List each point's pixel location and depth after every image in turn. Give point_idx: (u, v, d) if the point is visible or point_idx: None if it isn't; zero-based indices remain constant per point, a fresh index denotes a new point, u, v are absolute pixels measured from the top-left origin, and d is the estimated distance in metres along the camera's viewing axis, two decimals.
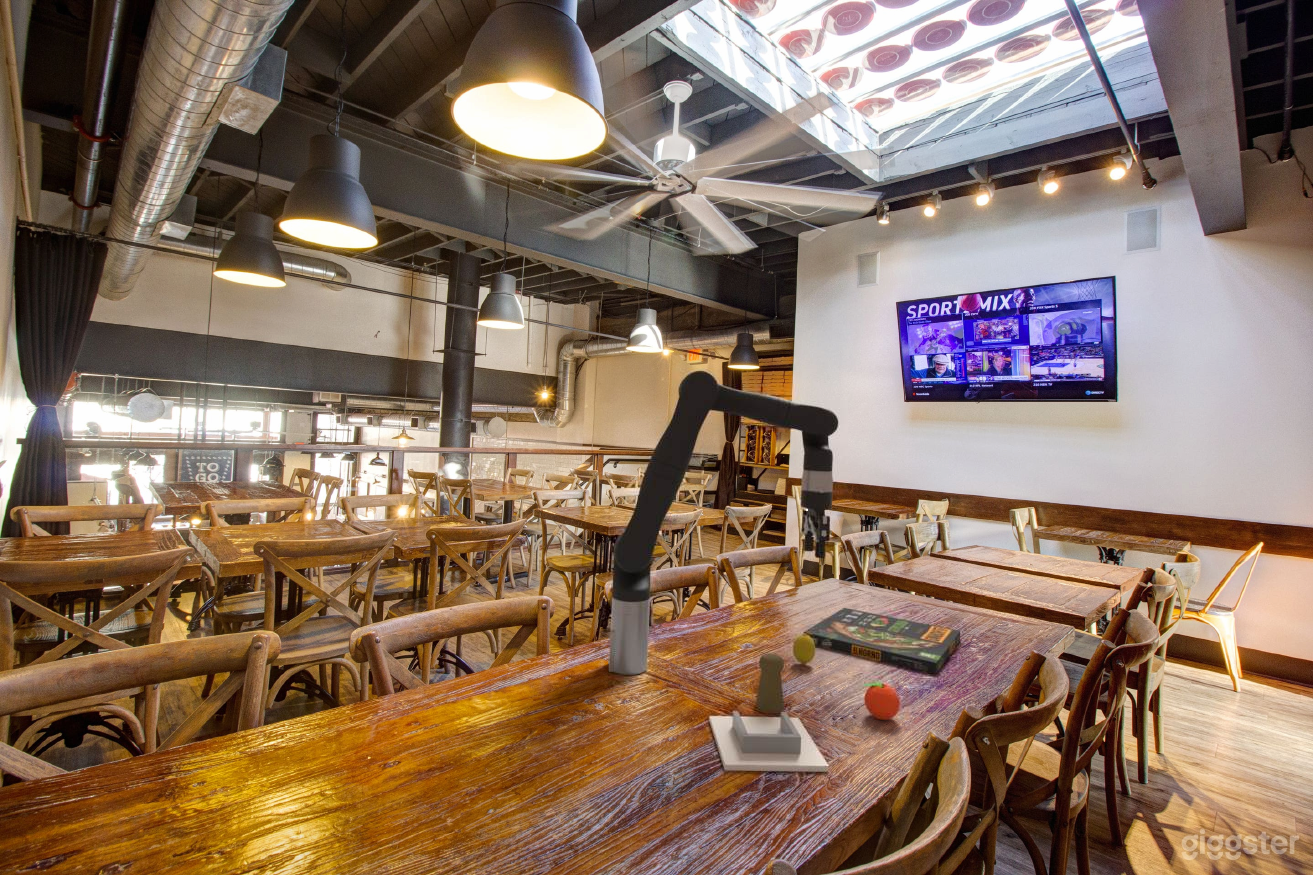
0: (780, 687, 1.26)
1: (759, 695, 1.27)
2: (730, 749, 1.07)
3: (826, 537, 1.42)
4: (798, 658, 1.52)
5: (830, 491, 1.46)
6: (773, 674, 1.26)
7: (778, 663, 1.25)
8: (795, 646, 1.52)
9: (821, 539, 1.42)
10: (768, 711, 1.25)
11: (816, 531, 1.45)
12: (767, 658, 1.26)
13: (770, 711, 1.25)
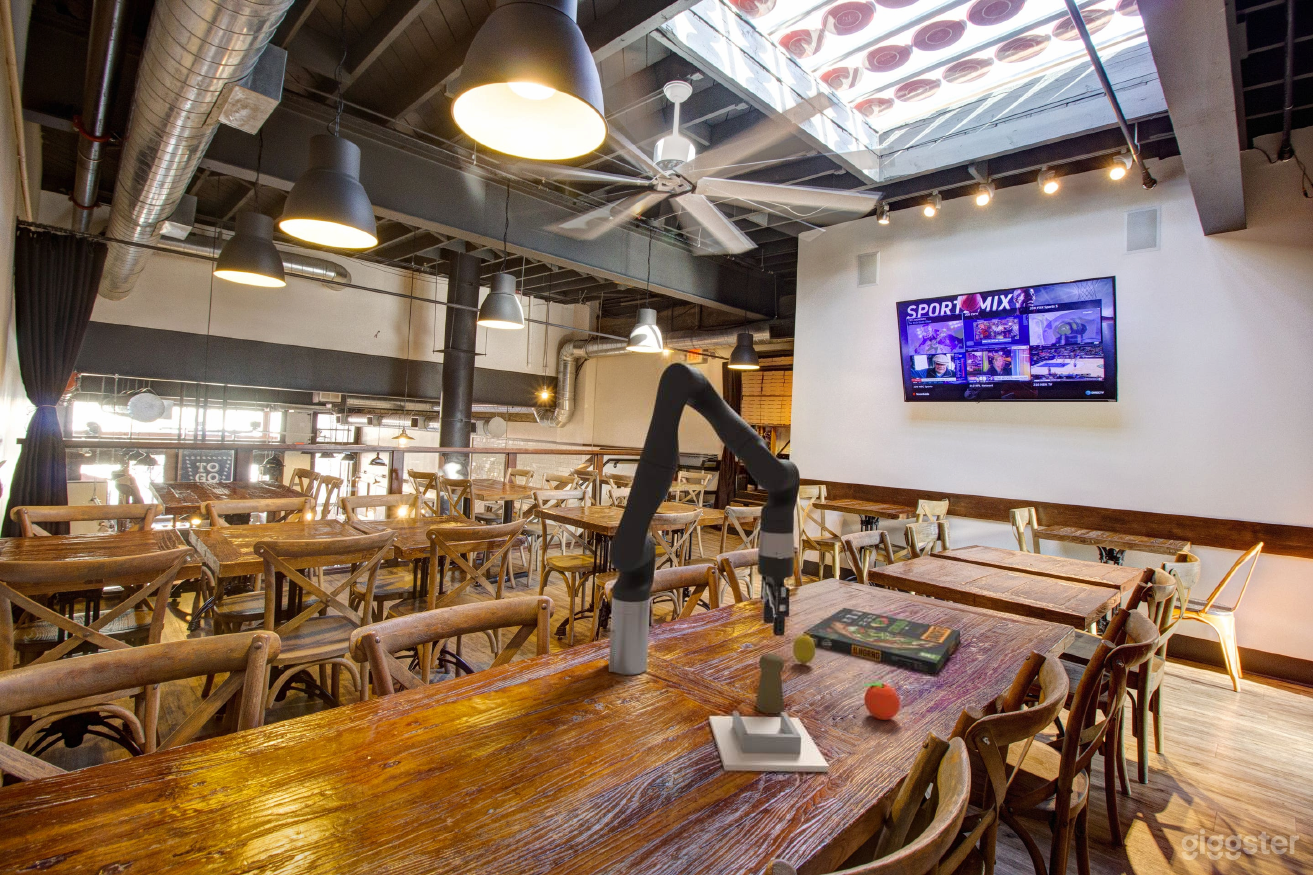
0: (780, 687, 1.26)
1: (759, 695, 1.27)
2: (730, 749, 1.07)
3: (785, 612, 1.21)
4: (798, 658, 1.52)
5: (791, 556, 1.25)
6: (773, 674, 1.26)
7: (778, 663, 1.25)
8: (795, 646, 1.52)
9: (779, 615, 1.21)
10: (768, 711, 1.25)
11: (774, 604, 1.24)
12: (767, 658, 1.26)
13: (770, 711, 1.25)
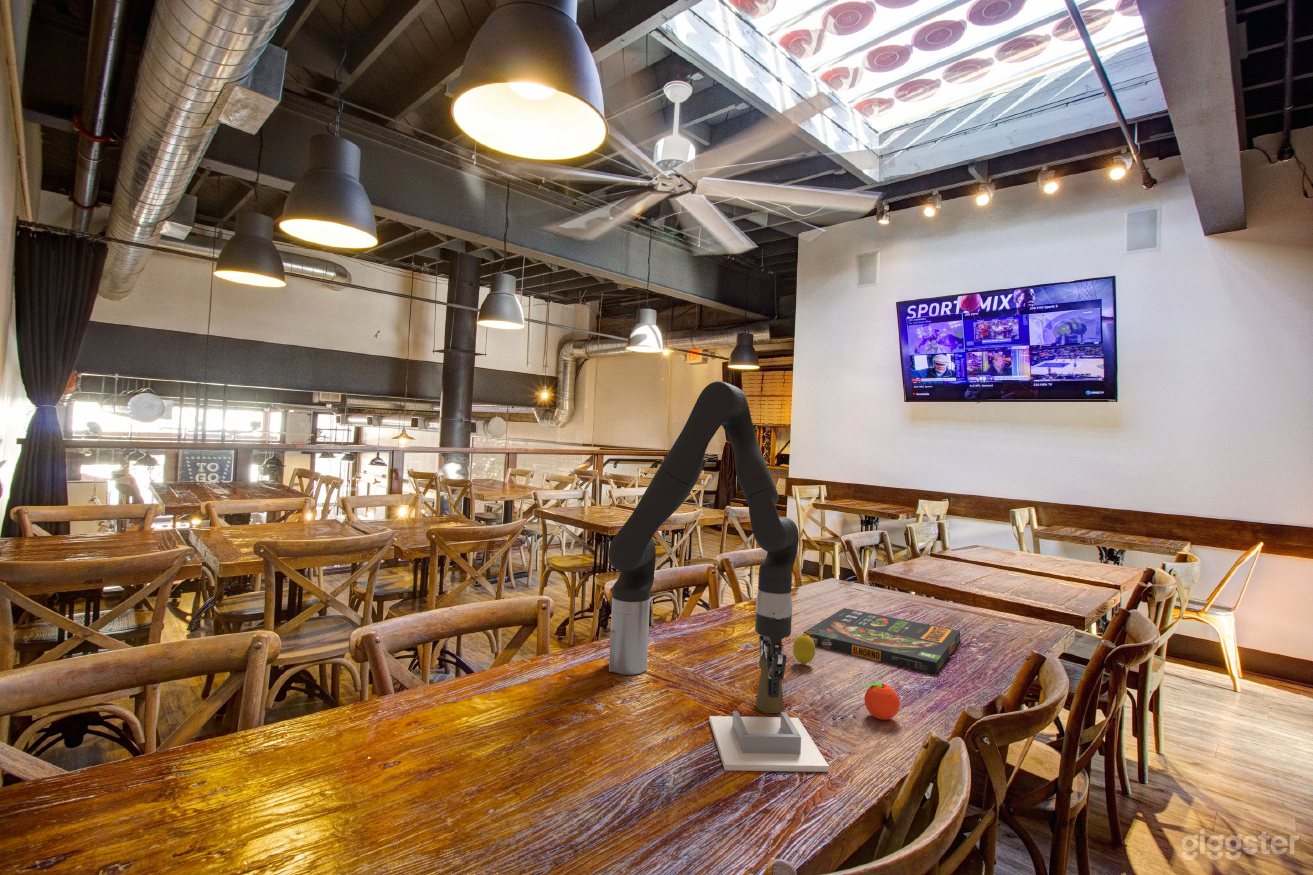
0: (780, 687, 1.26)
1: (759, 695, 1.27)
2: (730, 749, 1.07)
3: (779, 677, 1.23)
4: (798, 658, 1.52)
5: (788, 616, 1.25)
6: None
7: None
8: (795, 646, 1.52)
9: (774, 678, 1.23)
10: (768, 711, 1.25)
11: (770, 666, 1.25)
12: None
13: (770, 711, 1.25)
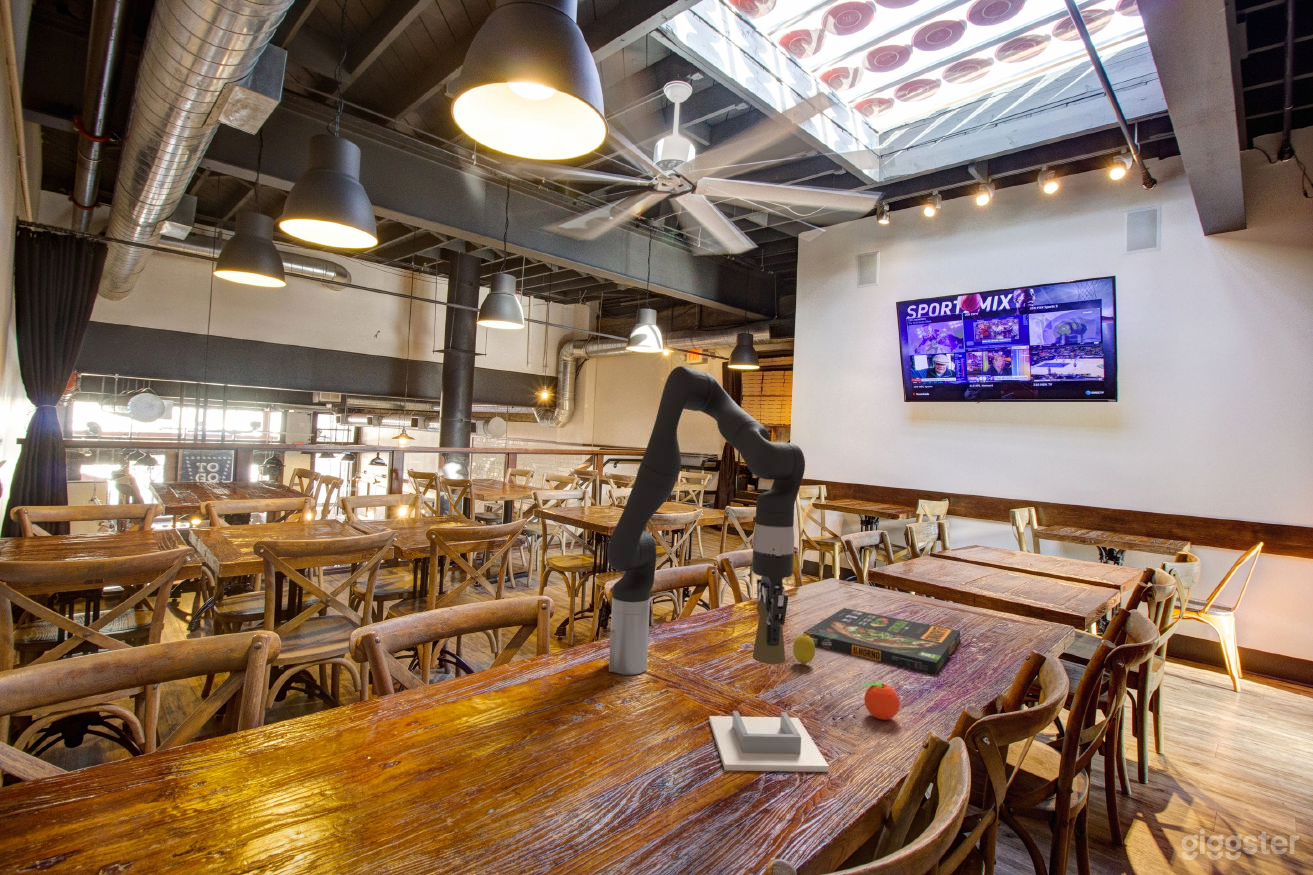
0: (781, 635, 1.10)
1: (757, 644, 1.11)
2: (730, 749, 1.07)
3: (780, 621, 1.07)
4: (798, 658, 1.52)
5: (790, 553, 1.09)
6: None
7: None
8: (795, 646, 1.52)
9: (773, 623, 1.07)
10: (767, 662, 1.09)
11: (769, 610, 1.09)
12: None
13: (769, 662, 1.09)
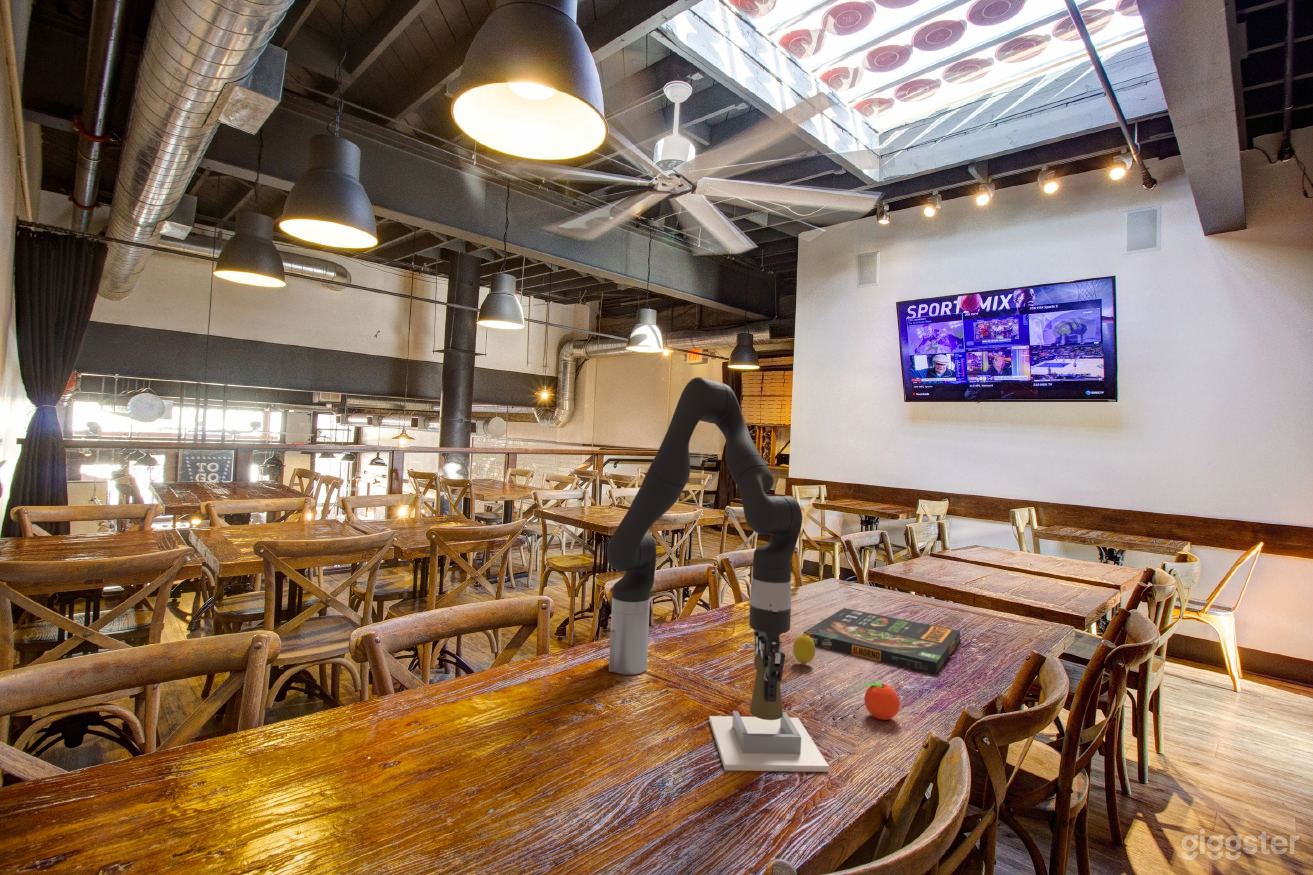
0: (778, 690, 1.10)
1: (754, 699, 1.11)
2: (730, 749, 1.07)
3: (777, 678, 1.06)
4: (798, 658, 1.52)
5: (787, 608, 1.09)
6: None
7: None
8: (795, 646, 1.52)
9: (770, 680, 1.06)
10: (764, 717, 1.09)
11: (766, 666, 1.09)
12: None
13: (767, 717, 1.09)
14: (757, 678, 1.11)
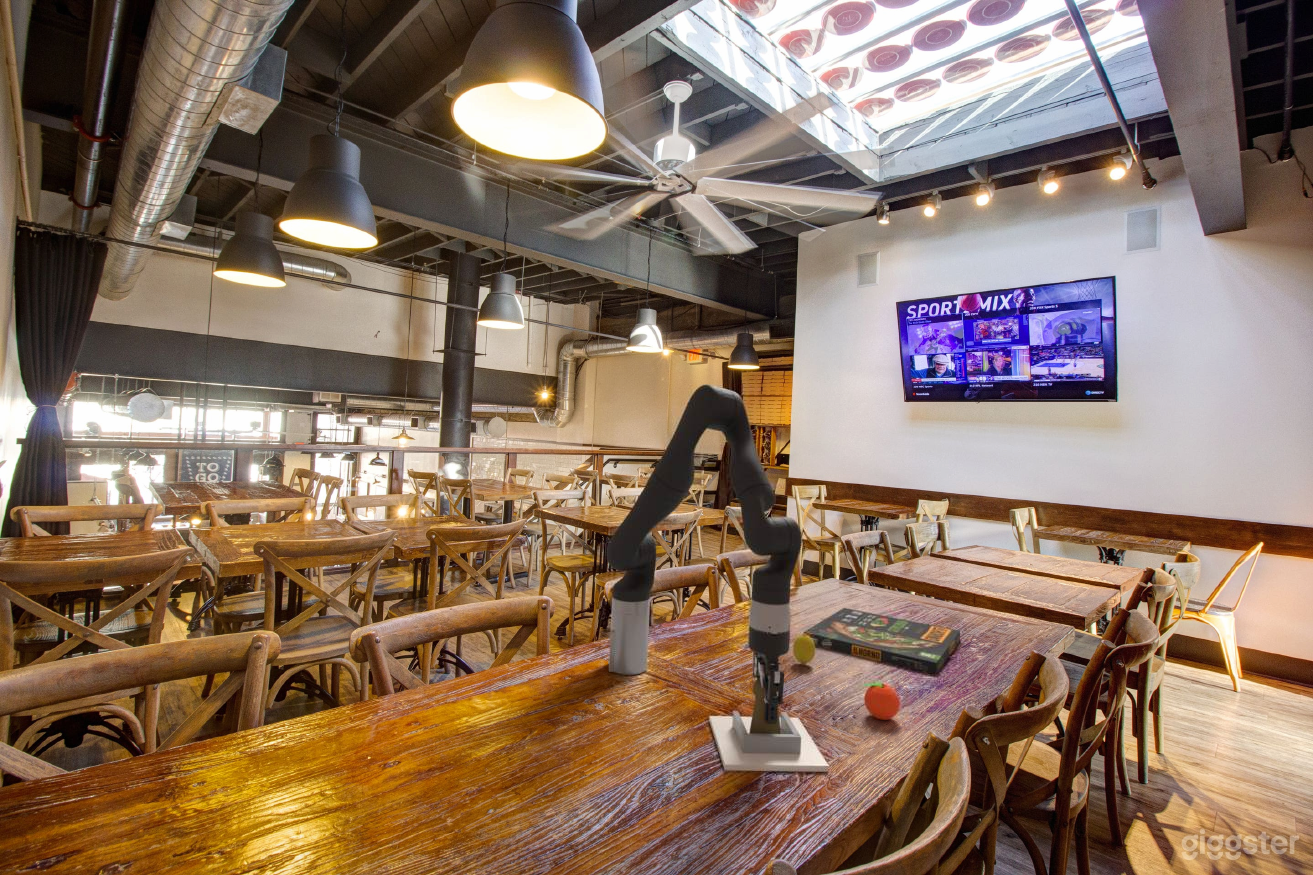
0: (777, 717, 1.10)
1: (753, 726, 1.10)
2: (730, 749, 1.07)
3: (778, 700, 1.05)
4: (798, 658, 1.52)
5: (786, 630, 1.09)
6: None
7: None
8: (795, 646, 1.52)
9: (771, 702, 1.05)
10: None
11: (766, 687, 1.08)
12: None
13: None
14: (756, 705, 1.10)
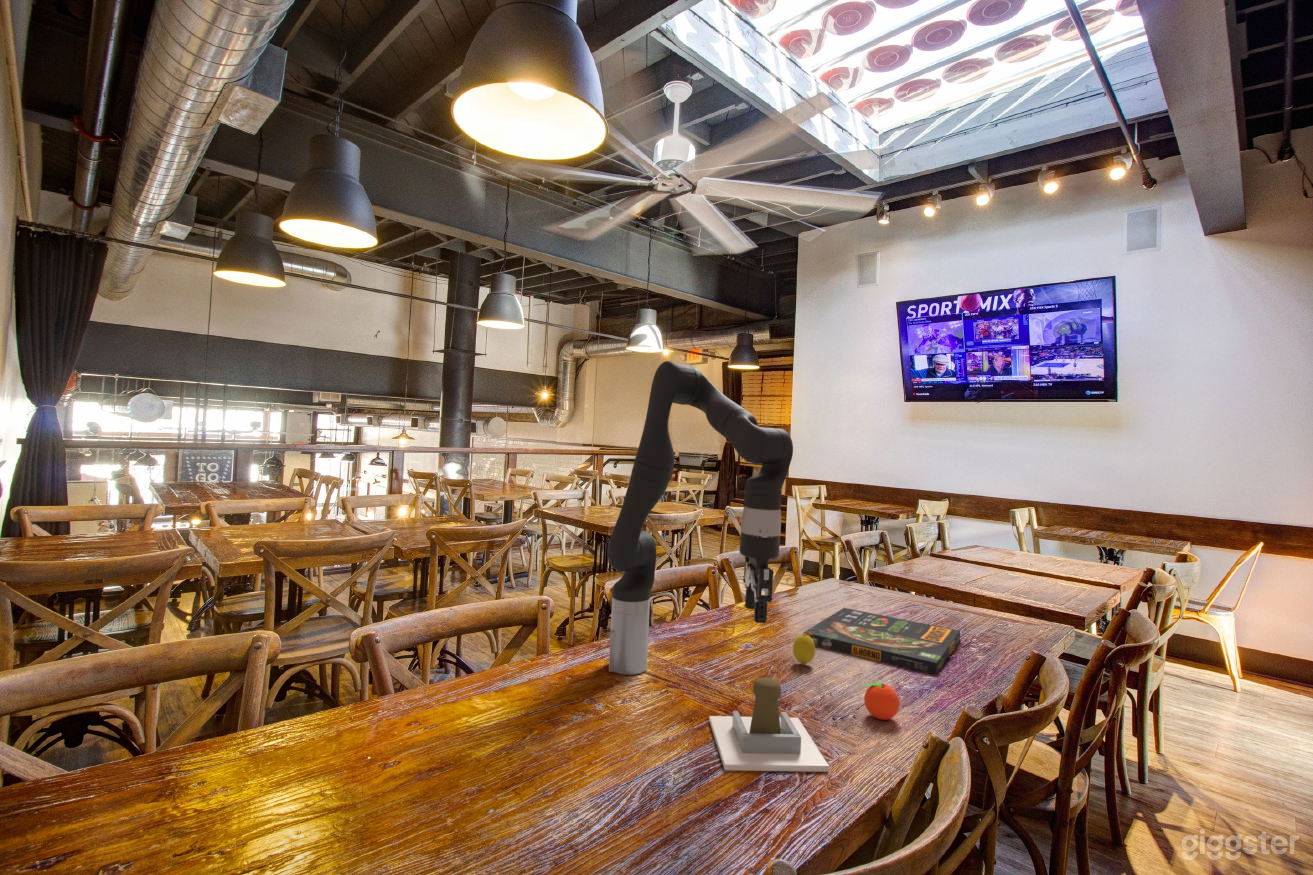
0: (777, 717, 1.10)
1: (753, 726, 1.10)
2: (730, 749, 1.07)
3: (767, 597, 1.08)
4: (798, 658, 1.52)
5: (776, 535, 1.12)
6: (769, 702, 1.09)
7: (775, 690, 1.09)
8: (795, 646, 1.52)
9: (761, 600, 1.08)
10: None
11: (756, 588, 1.11)
12: (762, 683, 1.10)
13: None
14: (756, 705, 1.10)
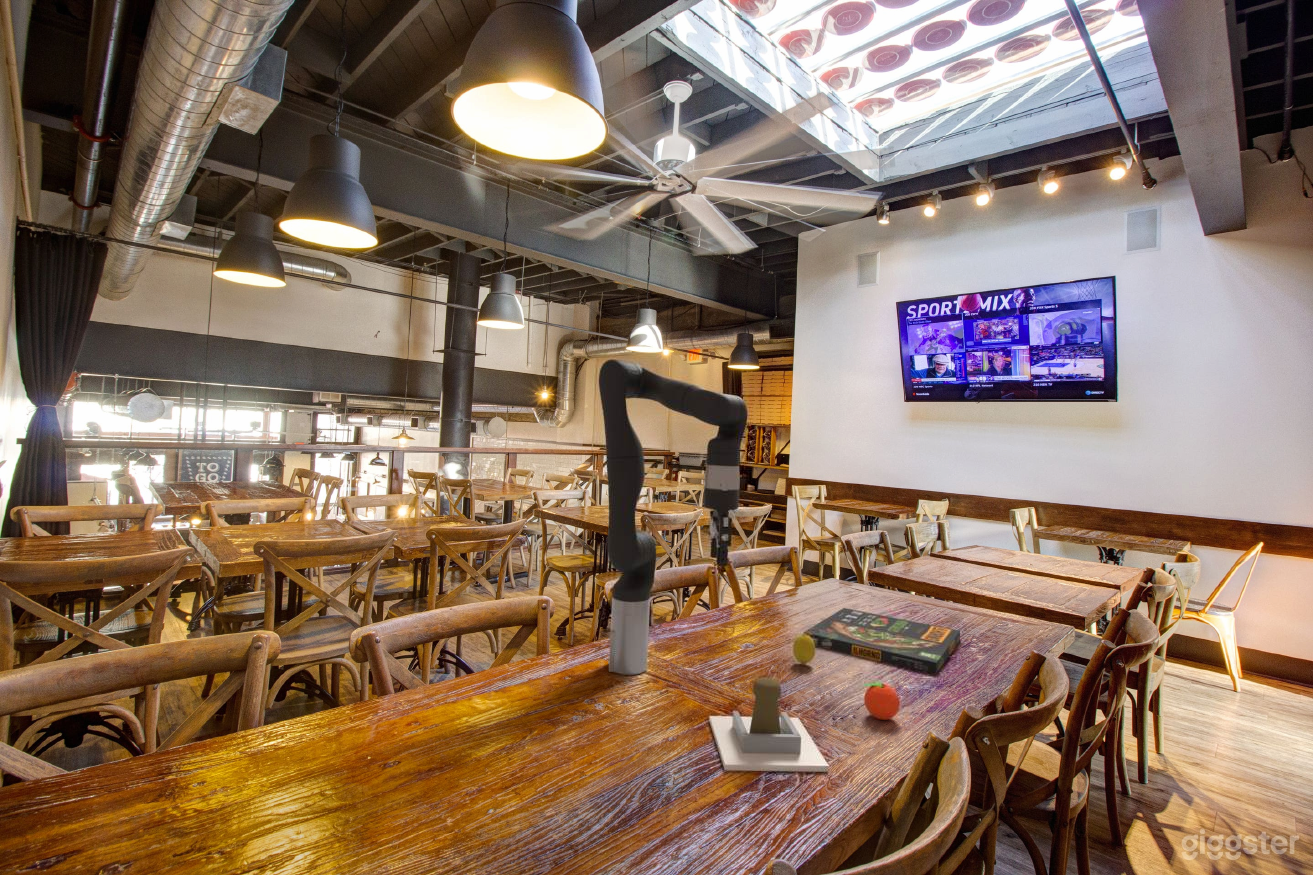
0: (777, 717, 1.10)
1: (753, 726, 1.10)
2: (730, 749, 1.07)
3: (727, 542, 1.22)
4: (798, 658, 1.52)
5: (735, 489, 1.27)
6: (769, 702, 1.09)
7: (775, 690, 1.09)
8: (795, 646, 1.52)
9: (721, 544, 1.22)
10: None
11: (718, 535, 1.25)
12: (762, 683, 1.10)
13: None
14: (756, 705, 1.10)
